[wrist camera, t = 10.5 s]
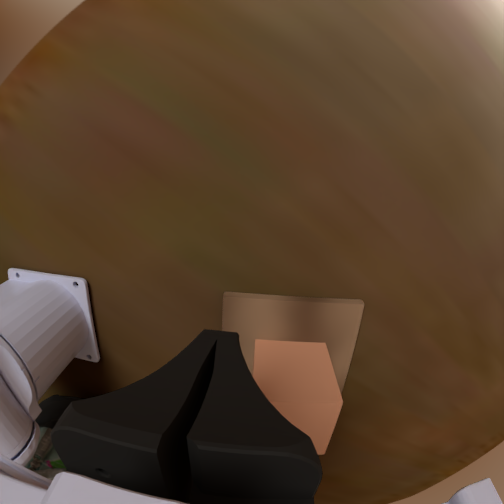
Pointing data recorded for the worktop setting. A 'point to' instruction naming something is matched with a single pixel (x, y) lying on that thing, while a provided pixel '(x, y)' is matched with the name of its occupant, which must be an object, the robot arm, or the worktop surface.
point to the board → (295, 324)
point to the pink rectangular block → (300, 386)
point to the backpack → (46, 455)
